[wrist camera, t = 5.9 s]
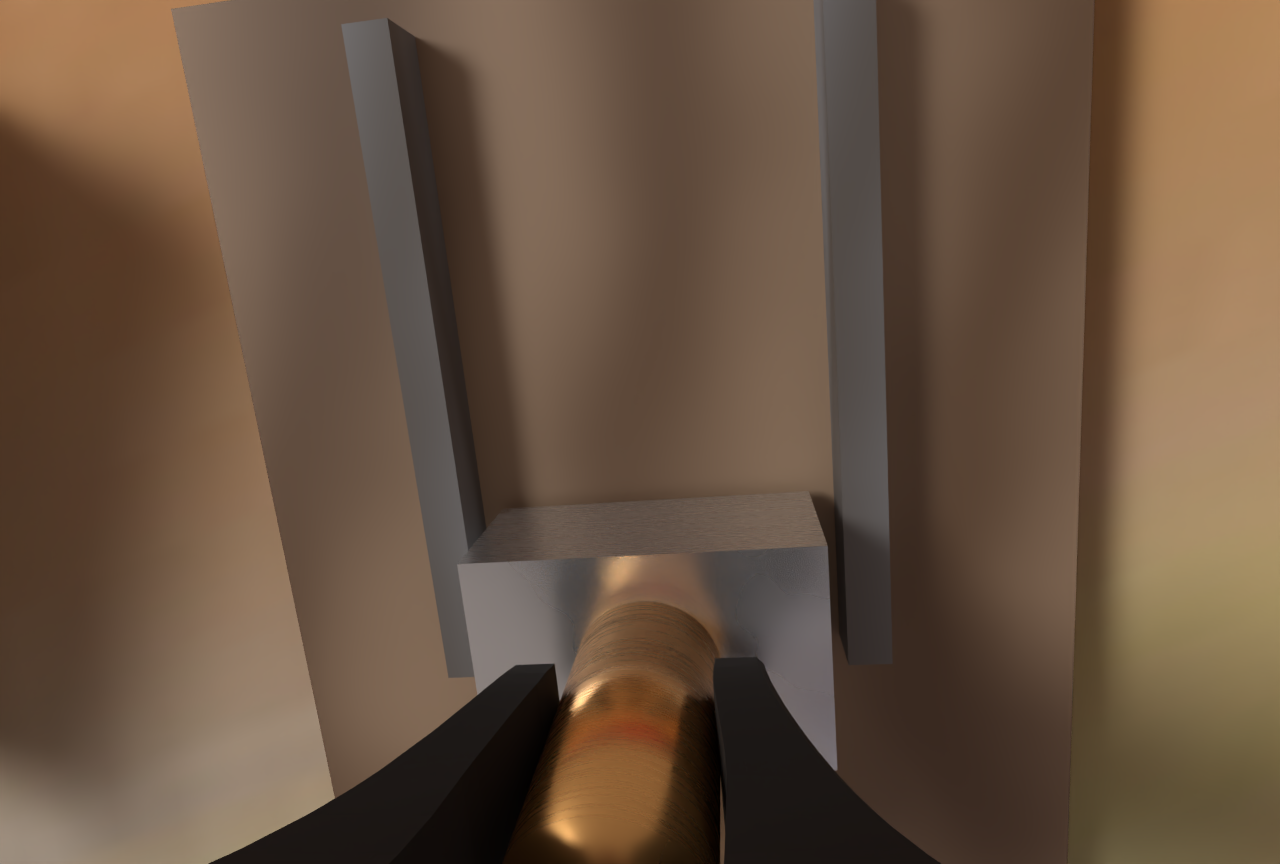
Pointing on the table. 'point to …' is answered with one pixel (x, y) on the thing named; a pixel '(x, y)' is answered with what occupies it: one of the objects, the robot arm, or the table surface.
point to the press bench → (677, 337)
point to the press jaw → (647, 657)
